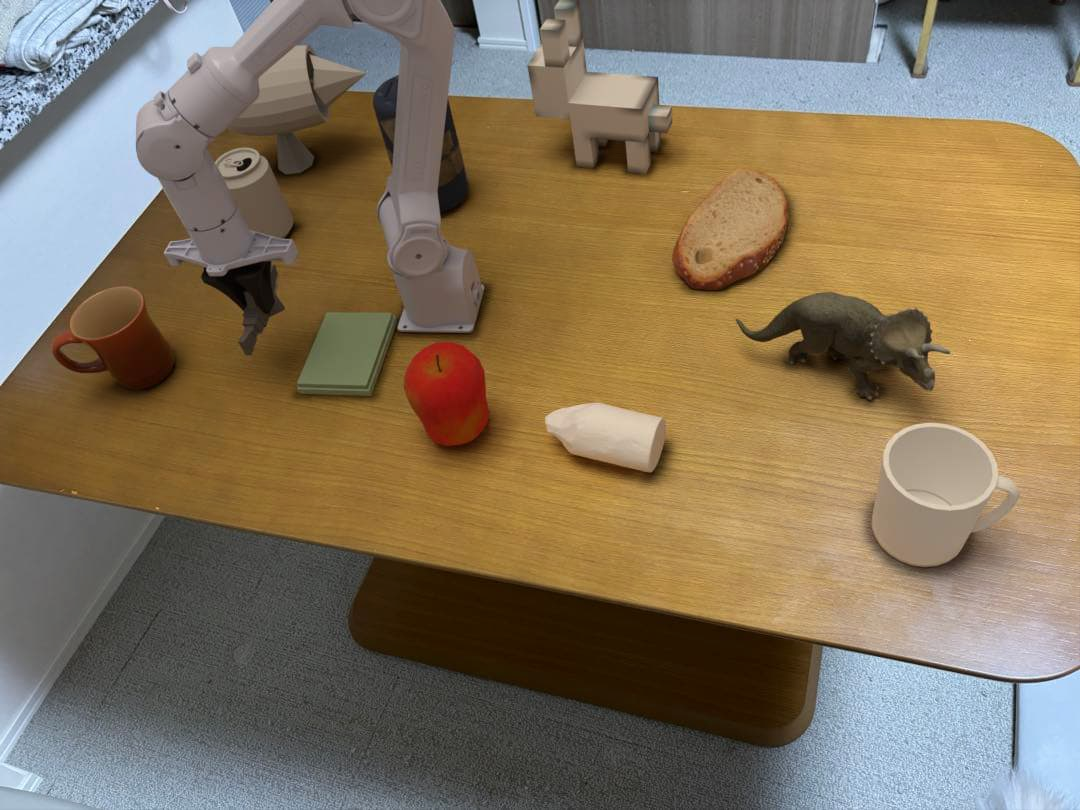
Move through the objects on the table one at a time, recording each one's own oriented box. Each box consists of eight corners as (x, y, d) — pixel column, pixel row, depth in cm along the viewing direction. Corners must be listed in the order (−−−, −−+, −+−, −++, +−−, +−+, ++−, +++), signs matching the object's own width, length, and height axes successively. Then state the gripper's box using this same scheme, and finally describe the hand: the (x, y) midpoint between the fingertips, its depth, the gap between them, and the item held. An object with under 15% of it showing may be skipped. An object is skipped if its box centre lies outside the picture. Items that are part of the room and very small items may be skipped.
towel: (397, 321, 110) (394, 311, 109) (371, 396, 103) (367, 386, 101) (329, 320, 112) (325, 310, 110) (299, 394, 104) (294, 384, 103)
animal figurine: (270, 362, 101) (250, 337, 96) (235, 361, 102) (213, 336, 97) (297, 276, 106) (279, 249, 102) (263, 276, 107) (244, 249, 103)
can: (284, 250, 122) (249, 178, 113) (235, 249, 124) (197, 178, 115) (303, 215, 127) (272, 143, 117) (256, 214, 128) (221, 143, 119)
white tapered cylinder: (560, 414, 97) (553, 381, 93) (667, 438, 93) (665, 404, 89) (540, 457, 94) (532, 425, 89) (649, 484, 90) (647, 451, 85)
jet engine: (340, 203, 127) (297, 93, 114) (231, 182, 134) (178, 76, 121) (392, 142, 135) (357, 32, 122) (286, 125, 142) (243, 20, 129)
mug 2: (859, 558, 81) (875, 496, 73) (873, 480, 86) (890, 413, 78) (990, 590, 78) (1023, 527, 70) (998, 506, 83) (1029, 439, 75)
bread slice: (760, 172, 118) (762, 148, 115) (831, 253, 107) (834, 228, 104) (634, 213, 116) (632, 190, 114) (692, 300, 105) (692, 277, 102)
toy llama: (663, 176, 121) (657, 36, 105) (543, 162, 126) (521, 28, 111) (678, 143, 125) (674, 4, 109) (561, 131, 130) (542, -2, 115)
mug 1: (175, 335, 114) (136, 275, 106) (190, 377, 109) (150, 318, 101) (84, 375, 112) (37, 317, 104) (94, 421, 106) (45, 363, 99)
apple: (427, 399, 101) (400, 327, 92) (500, 394, 100) (479, 320, 91) (418, 461, 96) (388, 391, 87) (495, 457, 94) (473, 385, 85)
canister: (392, 214, 124) (353, 98, 110) (422, 173, 129) (388, 57, 115) (453, 224, 120) (420, 106, 107) (482, 181, 126) (454, 63, 112)
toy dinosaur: (728, 349, 99) (730, 274, 91) (769, 304, 103) (775, 228, 94) (917, 440, 88) (940, 364, 80) (956, 385, 92) (983, 308, 83)
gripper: (130, 240, 91) (190, 332, 101) (261, 238, 88) (308, 333, 98) (158, 196, 95) (212, 289, 106) (283, 192, 92) (326, 288, 103)
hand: (260, 307), depth 102 cm, fingers closed on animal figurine, 2 cm apart
